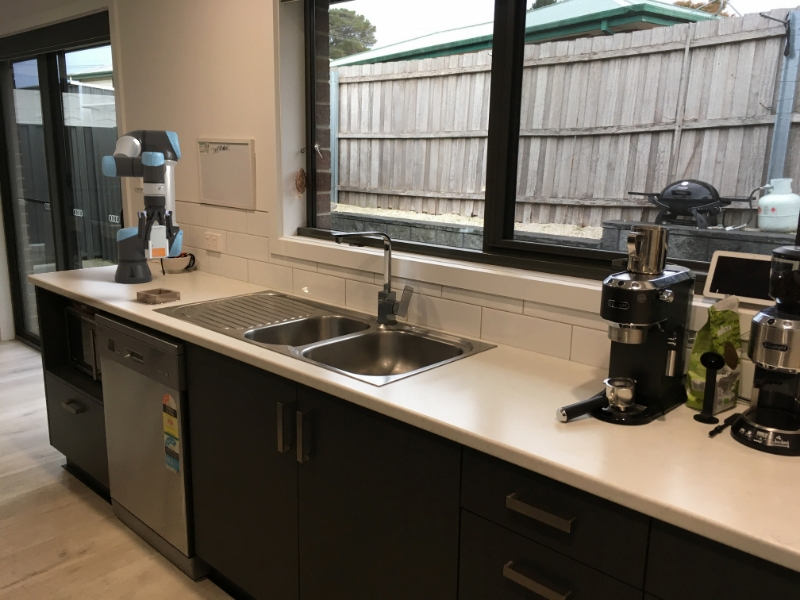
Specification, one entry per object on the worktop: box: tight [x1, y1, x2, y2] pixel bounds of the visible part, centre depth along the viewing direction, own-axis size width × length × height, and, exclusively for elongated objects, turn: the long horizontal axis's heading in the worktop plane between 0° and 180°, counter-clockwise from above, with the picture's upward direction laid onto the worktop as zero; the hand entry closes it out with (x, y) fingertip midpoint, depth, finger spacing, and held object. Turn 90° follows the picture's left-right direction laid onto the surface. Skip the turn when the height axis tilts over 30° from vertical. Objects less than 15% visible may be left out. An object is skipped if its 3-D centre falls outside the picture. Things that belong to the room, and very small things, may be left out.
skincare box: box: [148, 225, 167, 259], centre depth 238 cm, size 6×4×12 cm
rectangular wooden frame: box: [136, 287, 181, 305], centre depth 243 cm, size 11×11×3 cm
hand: (157, 256), depth 239 cm, fingers closed on skincare box, 7 cm apart
